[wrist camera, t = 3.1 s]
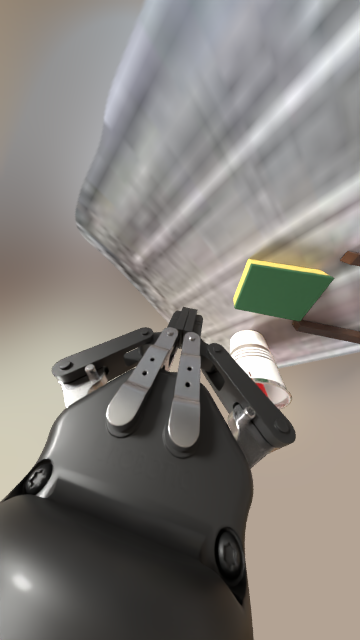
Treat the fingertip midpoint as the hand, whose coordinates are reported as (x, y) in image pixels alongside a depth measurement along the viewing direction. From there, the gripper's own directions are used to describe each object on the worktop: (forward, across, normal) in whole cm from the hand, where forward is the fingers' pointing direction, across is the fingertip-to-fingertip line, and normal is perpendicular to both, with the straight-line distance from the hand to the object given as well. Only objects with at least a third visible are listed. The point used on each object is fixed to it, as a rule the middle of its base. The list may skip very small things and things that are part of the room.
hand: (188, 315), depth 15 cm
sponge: (+12, -12, 0) cm, 17 cm away
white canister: (+13, -12, +13) cm, 22 cm away
